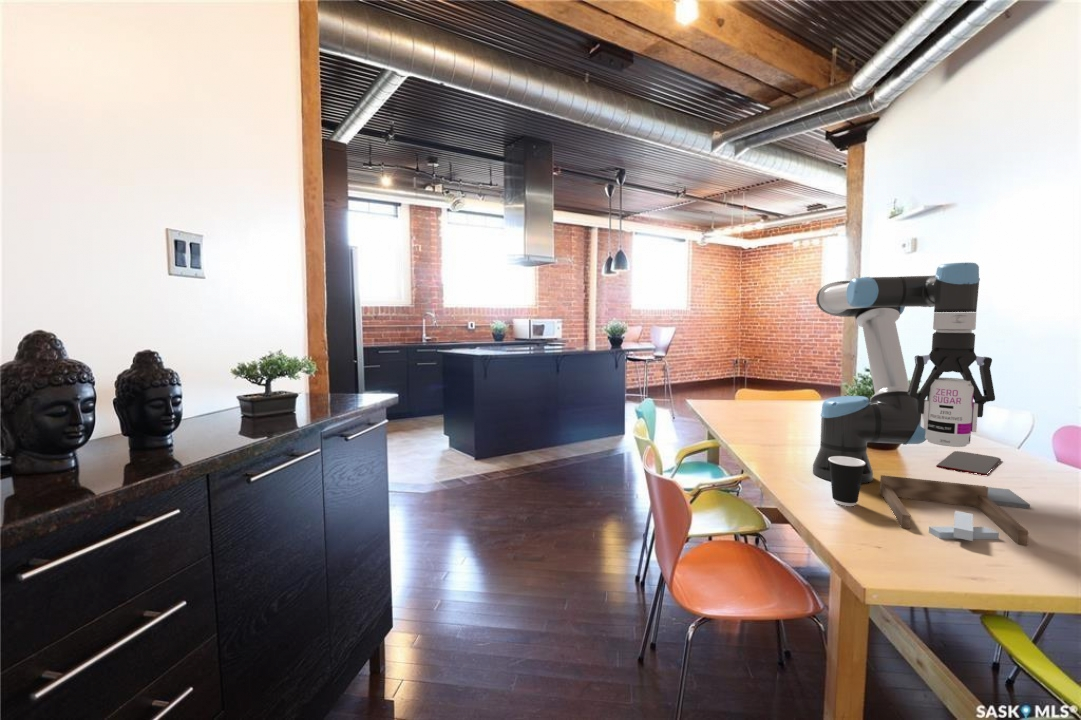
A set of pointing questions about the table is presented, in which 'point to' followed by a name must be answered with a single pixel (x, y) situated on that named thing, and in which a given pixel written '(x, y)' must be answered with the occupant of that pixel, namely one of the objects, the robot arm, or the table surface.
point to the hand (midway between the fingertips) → (947, 429)
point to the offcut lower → (948, 534)
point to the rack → (947, 501)
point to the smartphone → (969, 462)
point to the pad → (1006, 498)
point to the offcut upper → (963, 525)
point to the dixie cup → (846, 479)
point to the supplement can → (950, 412)
